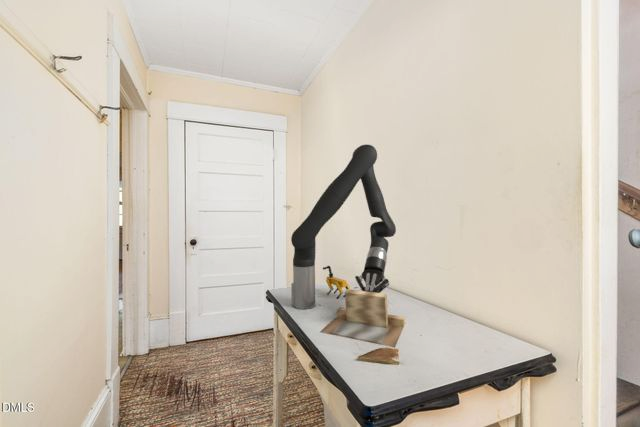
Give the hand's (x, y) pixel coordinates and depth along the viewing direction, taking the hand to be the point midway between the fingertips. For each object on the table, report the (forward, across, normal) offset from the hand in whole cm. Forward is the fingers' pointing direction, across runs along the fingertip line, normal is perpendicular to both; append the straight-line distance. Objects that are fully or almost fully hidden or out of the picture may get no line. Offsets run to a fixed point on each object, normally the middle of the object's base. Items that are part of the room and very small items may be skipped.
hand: (367, 302), depth 97 cm
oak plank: (+5, 0, +4) cm, 7 cm away
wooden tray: (+9, 0, +3) cm, 9 cm away
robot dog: (-13, -24, +25) cm, 37 cm away
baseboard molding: (-11, -6, +24) cm, 27 cm away
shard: (+20, +10, -8) cm, 24 cm away
